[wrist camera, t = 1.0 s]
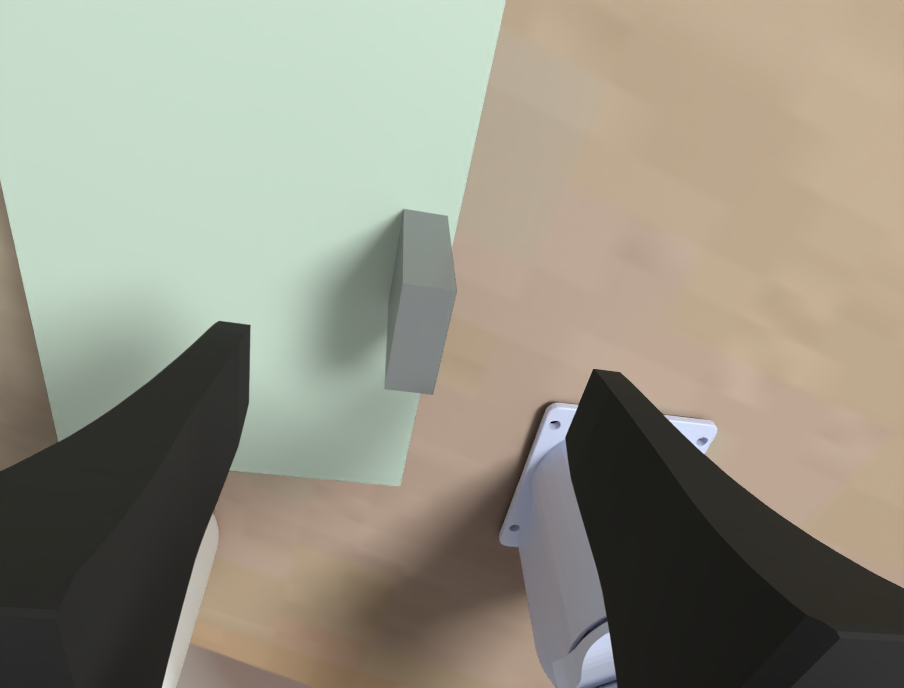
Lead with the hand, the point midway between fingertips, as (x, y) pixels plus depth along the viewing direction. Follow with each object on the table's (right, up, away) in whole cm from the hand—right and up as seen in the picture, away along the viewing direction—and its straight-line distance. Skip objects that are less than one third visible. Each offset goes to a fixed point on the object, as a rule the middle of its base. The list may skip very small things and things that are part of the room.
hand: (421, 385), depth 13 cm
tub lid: (-5, +4, +4) cm, 8 cm away
